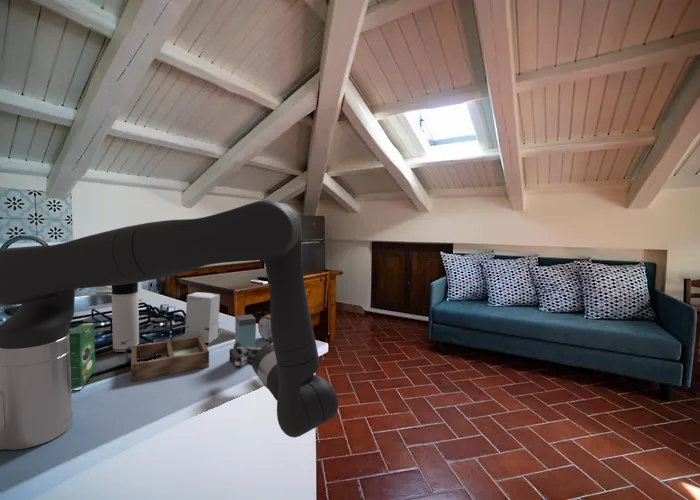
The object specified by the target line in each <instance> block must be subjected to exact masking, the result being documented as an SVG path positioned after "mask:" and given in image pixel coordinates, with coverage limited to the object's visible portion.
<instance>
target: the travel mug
mask: <svg viewBox="0 0 700 500" xmlns="http://www.w3.org/2000/svg"><path fill="white" fill-rule="evenodd" d="M138 288H139V282H136V283H128V284H121V285H112V286H111V317H112V321H111V322H112V323H111V325H112V326H111V327H112V351H113V352H114V351H115V353H117V352H124V353H126V352H125V350H126V348H128V347H132V346H135V345H138V344H139V345H140V330H139V329H140V324H139V323H140V319H139V311H140V310H139V289H138Z"/></svg>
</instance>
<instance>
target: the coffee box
mask: <svg viewBox="0 0 700 500" xmlns="http://www.w3.org/2000/svg"><path fill="white" fill-rule="evenodd" d="M69 341H70V369H71V387H76V386H82V385H83V383H84V382H85V381H86V380H87V379H88V378H89V377H90V376H91V375H92V374H93V373H94V372H95V373H96V346H95V345H96V344H95V343H96V341H95V322H87V323H86V322H85V323H80V324H79V325H77V326H75V327H74V328H73V329H71V330H69Z"/></svg>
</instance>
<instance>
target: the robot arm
mask: <svg viewBox="0 0 700 500" xmlns="http://www.w3.org/2000/svg"><path fill="white" fill-rule="evenodd" d="M302 253H303V251H302V222H301V219H300V217H299V215H298V213H297V212H296V210H294V209H293V207H291V206H290V205H288V204H286V203H285V202H284V203H283V202H281V201H275V200H269V199H268V200H265V199H264V200H257V201H254V202H251V203H247V204H245V205H241V206H238V207H235V208H232V209H229V210H225V211H222V212H218V213H214V214H212V215H207V216H203V217H198V218H197V217H196V218H187V219H182V218H181V219H168V220H160V221H159V220H158V221H150V222H145V223H139V224H133V225H129V226H125V227H120V228H116V229H112V230H106V231H102V232H98V233H95V234H90V235H87V236H84V237H83V236H82V237H80V238H76V239H73V240H70V241H66V242H62V243H57V244H56V243H55V244H51V245H48V244H47V245H45V244H44V245H31V246H18V247H8V248H7V247H6V248H1V249H0V305H3V306H12V305H13V306H15V305H20V307H19V308H18V310H16V312H15V313H14V314H13V315H11V316H10V317H9V318H7V319H6V320H5V321H3V322H2V323H0V451H2V450H12V451H14V450H23V449H29V448H32V447H36V446H40V445H43V444H45V443H47V442H50V441H53V440H54V439H56V438H58V437H59V436H61V435H63V434H64V433H66V432H67V431H68V430H69V429H70V428H71V427H72V424H73V405H72V404H73V401H72V399H73V398H72V391H71V369H70V341H69V332H70V324H72V323H71V322H72V320H73V319H74V315H75V303H76V302H75V298H76V297H75V296H76V290H77V289H90V288H91V289H92V288H100V287H101V288H102V287H103V288H104V287H112V285H121V284H128V283H136V282H138V283H141V282H147V281H152V280H158V279H163V278H167V277H172V276H175V275H180V274H183V273H187V272H190V271H193V270H196V269H198V268H202V267H205V266H210V265H215V264H216V265H217V264H225V263H235V262H236V263H237V262H251V261H252V262H253V261H255V262H257V261H263V264H264V266H265V267H264V268H265V270H266V275H267V280H268V287H269V299H270V300H269V301H270V303H269V305H270V306H269V307H270V308H269V309H270V310H269V311H270V313H269V314H270V319H271V334H272V336H271V337H269V341H268V344H267V345H265V346H263V347H262V346H261V347H256V346H255V347H250V346H248V347H246V348H245V347H242V345H241V344H240V343H239V342H236V343H235V342H234V344H233V348H231V349H229V357H228V360H229V362H230V363H231V364H232V366H233V367H234V368H235V369H236V370H237V369H238V370H239V369H241V368H242V365H246V364H247V365H249V366H251V368H252V369H253V371H254V373H255V374H256V376H257V377H258V379H259V381H260V382H261V384H263V386H264V387H265V388H266V389H267V390H268V391H269V392H270V393H271V394H272V396H273V398H274V400H276V401H277V402H276V417H277V422H278V425H279V427H280V430H281V431H282V433H284V434H285V435H286V436H288V437H290V438H298V437H301V436H303V435H305V434H306V433H308V432H310V431H312V430H313V429H316V428H317V427H319V426H321V425H323V424H325V423H326V422H328V421H330V420H332V419H333V418H334V417H335V416H336V414H337V412H338V409H339V396H338V393H337V392H336V390H335V388H334V387H333V385H332V384H331V383H330V382H329V381H327V380H326V379H324V378H323V377H321V376H319V375H317V374H316V373H317V371H318V370H319V368H320V357H319V352H318V347H317V341H316V338H315V337H316V336H315V332H314V327H313V324H312V323H313V322H312V318H311V313H310V308H309V303H308V297H307V292H306V287H305V277H304V270H303V258H302V257H303V256H302V255H303V254H302ZM242 351H243V352H244V355H242ZM250 351H252V352H251V353H250Z"/></svg>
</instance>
